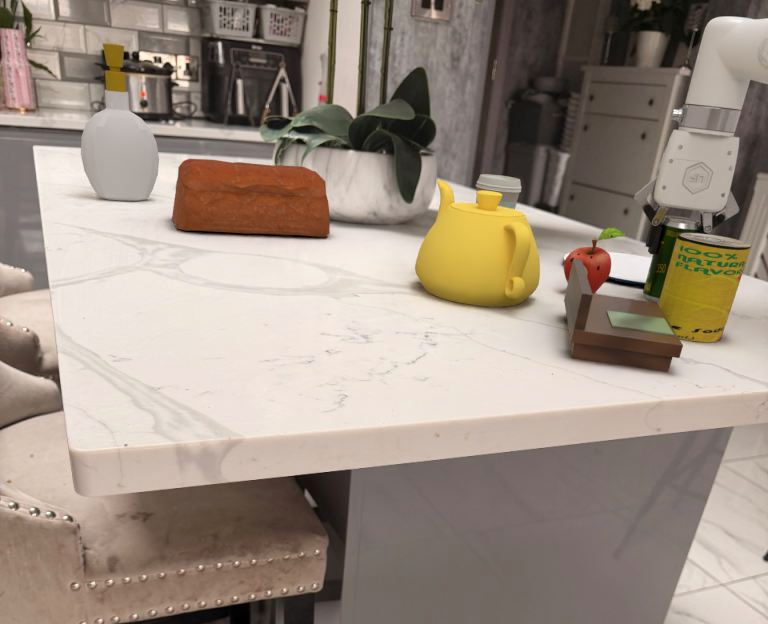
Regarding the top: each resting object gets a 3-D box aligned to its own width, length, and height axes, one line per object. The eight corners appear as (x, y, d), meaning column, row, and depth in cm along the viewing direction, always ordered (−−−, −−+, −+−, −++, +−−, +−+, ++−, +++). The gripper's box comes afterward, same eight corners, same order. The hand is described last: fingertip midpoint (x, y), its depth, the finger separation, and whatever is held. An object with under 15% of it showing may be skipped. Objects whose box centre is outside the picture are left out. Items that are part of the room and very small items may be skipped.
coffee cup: (510, 252, 142) (523, 182, 136) (465, 245, 143) (475, 176, 137) (512, 244, 149) (523, 178, 143) (468, 238, 150) (478, 172, 144)
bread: (169, 216, 138) (167, 152, 133) (313, 223, 147) (316, 163, 141) (178, 234, 125) (176, 163, 120) (334, 240, 134) (339, 175, 129)
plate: (544, 269, 130) (545, 262, 129) (581, 251, 150) (583, 244, 149) (694, 300, 121) (696, 292, 120) (713, 276, 141) (715, 269, 140)
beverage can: (727, 346, 99) (759, 250, 93) (657, 335, 100) (684, 240, 94) (713, 327, 107) (741, 238, 101) (648, 318, 108) (672, 229, 102)
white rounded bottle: (154, 196, 156) (147, 47, 143) (165, 203, 149) (159, 48, 136) (80, 193, 149) (66, 38, 136) (88, 201, 143) (74, 39, 130)
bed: (649, 328, 103) (665, 271, 99) (674, 375, 86) (694, 309, 82) (560, 315, 104) (573, 259, 100) (566, 359, 87) (582, 293, 83)
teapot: (379, 269, 117) (388, 173, 110) (476, 270, 125) (491, 179, 118) (461, 316, 98) (478, 203, 91) (570, 313, 105) (593, 208, 99)
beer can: (673, 298, 121) (696, 218, 115) (679, 306, 116) (704, 223, 110) (639, 293, 121) (660, 213, 116) (644, 301, 117) (666, 219, 111)
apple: (575, 300, 112) (591, 230, 108) (550, 288, 118) (564, 220, 113) (617, 300, 115) (634, 231, 110) (590, 289, 121) (606, 222, 116)
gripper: (650, 115, 104) (616, 252, 113) (779, 130, 103) (735, 268, 112) (643, 114, 111) (612, 243, 120) (764, 128, 109) (723, 258, 118)
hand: (671, 254), depth 115 cm, fingers closed on beer can, 5 cm apart
